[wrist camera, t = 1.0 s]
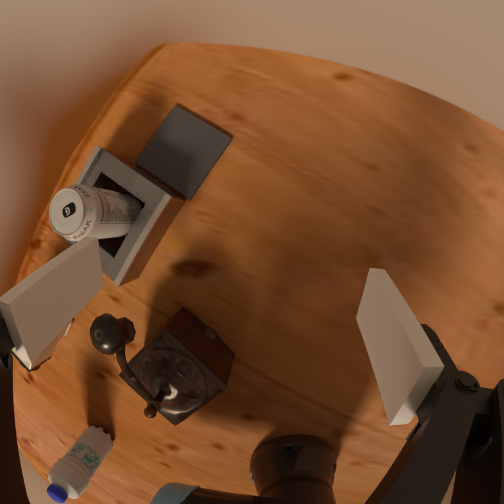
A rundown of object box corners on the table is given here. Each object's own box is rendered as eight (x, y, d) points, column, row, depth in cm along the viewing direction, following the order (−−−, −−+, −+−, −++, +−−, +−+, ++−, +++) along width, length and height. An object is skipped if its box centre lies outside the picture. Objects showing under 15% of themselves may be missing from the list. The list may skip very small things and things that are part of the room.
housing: (138, 278, 41) (118, 286, 35) (77, 228, 41) (52, 229, 35) (185, 200, 40) (171, 196, 34) (118, 155, 40) (96, 145, 33)
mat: (190, 199, 40) (189, 199, 40) (136, 163, 40) (135, 162, 39) (232, 139, 39) (232, 138, 39) (176, 106, 39) (175, 105, 38)
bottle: (87, 416, 44) (33, 476, 24) (118, 432, 44) (70, 500, 24) (86, 437, 45) (39, 496, 25) (115, 452, 45) (73, 517, 25)
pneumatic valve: (85, 305, 42) (39, 327, 30) (63, 353, 43) (23, 380, 31) (63, 284, 42) (15, 299, 30) (43, 333, 43) (0, 355, 31)
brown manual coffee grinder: (240, 352, 42) (225, 428, 24) (191, 394, 43) (157, 471, 25) (162, 276, 41) (97, 309, 23) (118, 325, 42) (50, 373, 24)
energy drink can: (104, 205, 41) (39, 198, 26) (137, 187, 40) (79, 171, 25) (116, 242, 41) (54, 251, 26) (150, 226, 41) (95, 227, 26)
